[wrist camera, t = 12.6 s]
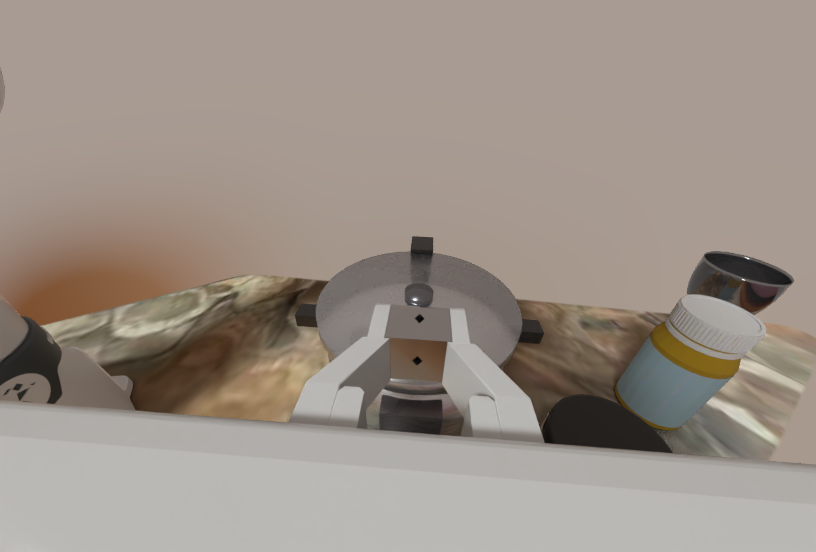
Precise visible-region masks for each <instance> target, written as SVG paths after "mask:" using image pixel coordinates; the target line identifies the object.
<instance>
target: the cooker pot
mask: <svg viewBox="0 0 816 552" xmlns="http://www.w3.org/2000/svg"><path fill="white" fill-rule="evenodd" d="M316 306H317V305H313V304H301V306H300V307H299V309H298V311H297V312H296V314H295V318H296V322H297V326H307V327H318V326H317V321H316ZM543 334H544V332H543V330H542V328H541V326H540V324H539V321H538V320H525V319H522V329H521V334H520V337H519V340H518V342H523V343H536V344H540V342H541V339H542V337H543ZM328 357H329V363H330V362H332V361H333V359H332V358H331V357H330V356H329V354H328ZM503 368H504V367H503ZM503 368H502V369H501V370H502V371H503ZM366 418H367V429H373V430H386V431H398V432H411V433H423V434H435V435H448V436H460V435H461V431H462V426H463V422H464V418H463V416H462V415H461V413H460V412H459V410H458V408H457V407H456V405H455V404H454V402H453V400H452V399H451V397H450V396H449V394H440V395H409V394H402V393H395V392H391V391H387V390H382V391H381V392H380V393H379V395H378V396H377V397H376V398H375V400H374V401H373V402H372V403H371V405H370V406H369V407H368V408H367V410H366Z"/></svg>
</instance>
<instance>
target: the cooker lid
mask: <svg viewBox="0 0 816 552" xmlns="http://www.w3.org/2000/svg"><path fill="white" fill-rule="evenodd" d="M377 303H381V304H396V305H408V306H420V307H435V308H464V309H465V311H466V317H467V323H468V330H469V336H470V342H471V344H476V345H477V346H478V347H479V348H480V349H481V350H482V351H483V352H484V353H485V354H486V355H487V356H488V357H489V358H490V359H491V360H492V361H493V362H494V363H495V364H496V365H497V366H498V367H499V368H500V369H502V368H503V367H504V366H505V365H506V364H507V363H508V362H509V360H510V358H511V357H512V355H513V353H514V351H515V349H516V346H517V343H518V340H519V337H520V334H521V329H522V314H521V311H520V307H519V305H518V303H517V301H516V299H515V297H514V296H513V294H512V293H511V291H510V290H509V289H508V288H507V287H506V286H505V285H504V284H503V283H502V282H501V281H500V280H499V279H497V278H496V277H495V276H493V275H492V274H491V273H489V272H488V271H486V270H484V269H482V268H480V267H478V266H476V265H474V264H472V263H469V262H467V261H464V260H461V259H458V258H455V257H451V256H447V255H442V254H436V253H433V238H432V237H412V244H411V252H396V253H389V254H382V255H378V256H374V257H370V258H367V259H364V260H362V261H359V262H357V263H354V264H353V265H350V266H349V267H347V268H345V269H344V270H342V271H341V272H339V273H338V274H337V275H336V276H334V277H333V278H332V279H331V280H330V281H329V282H328V283H327V284H326V286H325V287H324V289H323V290H322V292H321V294H320V296H319V298H318V301H317V306H316V321H317V326H318V331H319V336H320V339H321V342H322V344H323V346H324V348H325V350H326V351H327V353H328V354H329V356H330V357H331V358H332V359H333V360H334V359H335V358H337V357H338V356H339V355H340V354H342V353H343V352H344V351H345V350H347V349H348V348H349V347H350V346H352V345H353V344H354V343H355V342H357V341H358V340H359V339H360V338H362V337H367V335H368V331H369V327H370V323H371V320H372V316H373V312H374V308H375V305H376V304H377ZM383 390H387V391H391V392H395V393H402V394H409V395H440V394H448V393H447V391H446V389H445V388H444V386H443V385H442V382H433V381H423V380H410V379H390V381H389V382H388V384H387V385H386V386H385V387H384V389H383Z"/></svg>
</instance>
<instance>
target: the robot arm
mask: <svg viewBox="0 0 816 552" xmlns="http://www.w3.org/2000/svg"><path fill="white" fill-rule="evenodd" d="M4 95H5V86H4V81H3V75H2V72H1V69H0V112H1V110H2V107H3V102H4V97H5V96H4ZM390 379H410V380H423V381H433V382H442V385H443V386H444V388H445V389H446V391H447V393H448V394H449V396H450V397H451V399H452V400H453V402H454V404H455V405H456V407H457V408H458V410H459V412H460V413H461V415H462V416H463V418H464V422H463V426H462V431H461V435H460V436H448V435H435V434H423V433H411V432H398V431H386V430H373V429H367V418H366V410H367V408H368V407H369V406H370V405H371V403H372V402H373V401H374V400H375V398H376V397H377V396H378V395H379V393H380V392H381V391H382V390H383V389H384V387H385V386H386V385H387V384H388V382H389V381H390ZM132 388H133V381H132V380H131V379H130V378H129V377H127V376H124V375H121V376H110V375H109V374H108V373H107V372H106V371H105V370H104V369H103V368H102V367H100V366H99V365H98V364H97V363H96V362H95V361H94V360H93V359H92V358H91V357H90V356H89V355H87V354H86V353H85V352H84V351H83V350H82V349H80V348H77V347H72V348H70V347H59V346H58V345H57V343H56V342H55V341H54V340H53V338H52V336H51V335H50V334H49V333H48V332H47V331H46V330H45V329H44V328H43V327H41V326H39V325H38V324H37V323H36V322H35V321H34V320H32V319H31V318H28V317H25V316H20V315H19V314H18V313H17V312H16V311H15V310H14V309H13V308H12V306H11V305H10V304H9V303H8V302H7V301H6V300H5V299H4V298H3V297H2V296H1V295H0V552H816V465H813V464H801V463H788V462H776V461H764V460H751V459H739V458H726V457H713V456H701V455H688V454H676V453H663V452H651V451H638V450H626V449H613V448H601V447H588V446H576V445H563V444H550V443H545V442H544V439H543V436H542V433H541V430H540V427H539V424H538V421H537V418H536V415H535V411H534V408H533V405H532V402H531V399H530V398H529V397H528V396H527V395H526V394H525V393H524V392H523V391H522V390H521V389H520V388H519V387H518V386H517V385H516V384H515V383H514V382H513V381H512V380H511V379H510V378H509V377H508V376H507V375H506V374H505V373H504V372H503V371H502V370H501V369H500V368H499V367H498V366H497V365H496V364H495V363H494V362H493V361H492V360H491V359H490V358H489V357H488V356H487V355H486V354H485V353H484V352H483V351H482V350H481V349H480V348H479V347H478V346H477V345H476V344H471V342H470V336H469V330H468V323H467V317H466V311H465V309H464V308H435V307H420V306H408V305H396V304H381V303H377V304H376V305H375V308H374V312H373V316H372V320H371V323H370V327H369V331H368V335H367V337H362V338H360V339H359V340H358V341H357V342H355V343H354V344H353V345H352V346H350V347H349V348H348V349H347V350H345V351H344V352H343V353H342V354H340V355H339V356H338V357H337V358H335V359H334V360H333V361H332V362H330V363H329V364H328V365H327V366H325V367H324V368H323V369H322V370H320V371H319V372H318V373H317V374H315V375H314V376H313V377H312V378H310V379H309V380H308V381H307V382H306V383H305V386H304V388H303V390H302V393H301V395H300V397H299V400H298V402H297V404H296V407H295V409H294V411H293V413H292V416H291V418H290V420H289V423H286V422H273V421H261V420H248V419H235V418H223V417H210V416H198V415H185V414H173V413H160V412H148V411H136V410H135V408H134V406H133V404H132V402H131V400H130V395H131V391H132Z"/></svg>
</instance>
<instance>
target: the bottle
mask: <svg viewBox="0 0 816 552" xmlns="http://www.w3.org/2000/svg"><path fill="white" fill-rule="evenodd" d="M765 334H766V327H765V325H764V324H763V323H762V322H761V321H760V320H759V319H758V318H757V317H755V316H754V315H753V314H751V313H749V312H748V311H746V310H744V309H742V308H740V307H738V306H736V305H734V304H731V303H729V302H726V301H724V300H721V299H717V298H714V297H710V296H705V295H696V294H692V295H686V296H684V297H683V298H681V299H680V300H679V302H678V303H677V304H676V306H675V308H674V309H673V310H672V312H671V313H670V315H669V316H668V318H667V319H666V321H665V322H663V323H661V324H660V325H658V326H656V327H655V328H654V330H653V331H652V332H651V334H650V335H649V337H648V338H647V339H646V341H645V342H644V344H643V345H642V347H641V348H640V350H639V351H638V353H637V354H636V356H635V357H634V359H633V360H632V361H631V363H630V364H629V366H628V367H627V369H626V370H625V372H624V373H623V375H622V376H621V378H620V379H619V380H618V382H617V384H616V386H615V393H616V395H617V398H618V400H619V402H620V403H621V405H622V406H623V407H624V408H626V409H628V410H630V411H631V412H633V413H634V414H636V415H637V416H638V417H640V418H641V419H642V420H644V421H645V422H646V423H647V424H648V425H649V426H651V427H653V428H657V429H662V430H667V431H668V430H677V429H678V428H680V427H681V426H682V425H684V424H685V423H686V422H687V421H688V420H689V419H690V418H691V417H692V416H693V415H694V414H695V413H696V412H697V411H698V410H699V409H700V408H701V407H702V406H703V405H704V404H705V403H706V402H707V401H708V400H709V399H710V398H711V397H712V396H713V395H715V394H716V393H717V392H718V391H719V390H720V389H721V388H722V387H723V386H724V385H725V384H726V383H727V382H728V381H729V380H730V379H731V378H732V377H733V376H734V374H735V373H736V372H737V371H738V369H739V365H740V360H741V358H742V357H743V356H744V355H745V354H746V353H747V351H749V350H751V349H752V348H753V347H754V346H755V345H756V344H757V343H758V342H759V341H760V340H761V339H762V338H763V336H764V335H765Z"/></svg>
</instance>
